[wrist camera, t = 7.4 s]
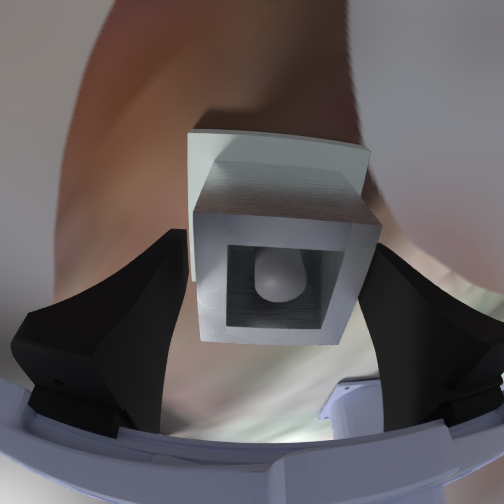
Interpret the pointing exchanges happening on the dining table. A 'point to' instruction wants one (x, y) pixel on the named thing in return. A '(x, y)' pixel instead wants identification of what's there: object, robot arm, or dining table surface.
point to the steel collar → (282, 236)
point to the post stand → (270, 152)
